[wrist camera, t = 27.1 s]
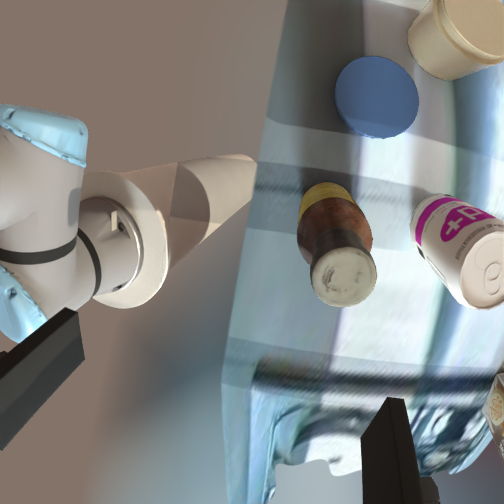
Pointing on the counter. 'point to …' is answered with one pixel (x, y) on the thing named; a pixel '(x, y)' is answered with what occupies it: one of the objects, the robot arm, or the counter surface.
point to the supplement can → (461, 249)
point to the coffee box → (496, 412)
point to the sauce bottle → (336, 245)
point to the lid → (376, 97)
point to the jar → (458, 37)
